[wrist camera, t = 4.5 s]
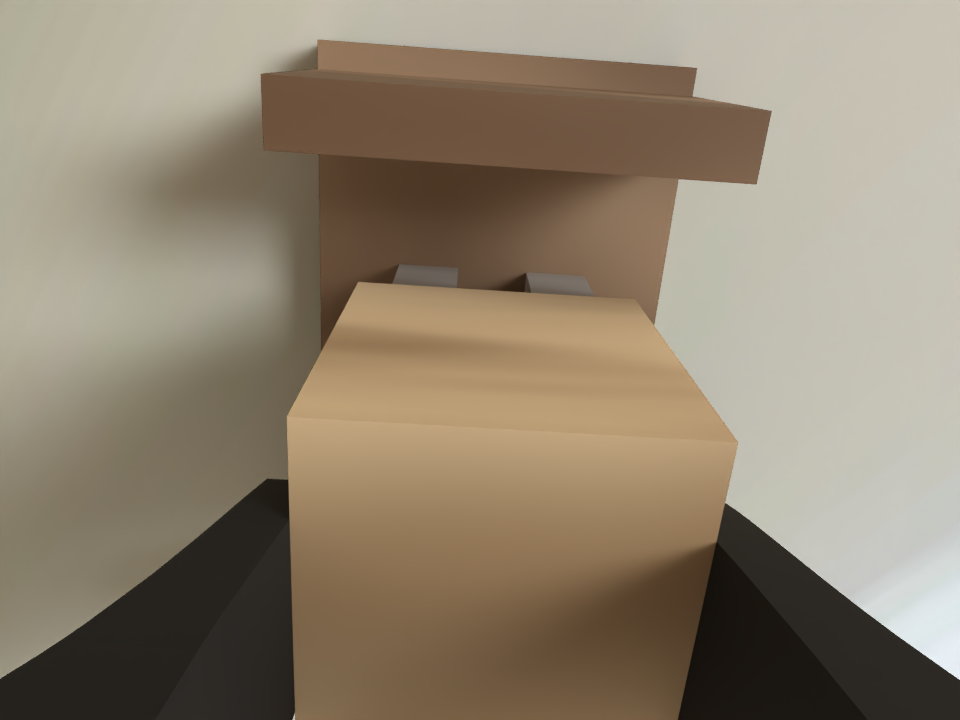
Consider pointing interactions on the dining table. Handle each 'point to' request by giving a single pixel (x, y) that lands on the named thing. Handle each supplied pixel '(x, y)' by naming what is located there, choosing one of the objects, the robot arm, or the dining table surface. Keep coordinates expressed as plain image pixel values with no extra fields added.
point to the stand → (501, 167)
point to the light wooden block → (499, 510)
